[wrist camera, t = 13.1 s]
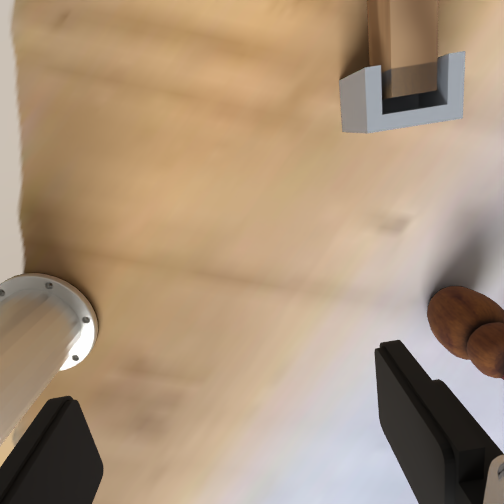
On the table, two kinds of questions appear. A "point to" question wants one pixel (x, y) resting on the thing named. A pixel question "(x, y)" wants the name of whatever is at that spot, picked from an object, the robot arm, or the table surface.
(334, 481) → the table surface
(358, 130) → the post
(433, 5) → the rail
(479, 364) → the wooden figurine
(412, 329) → the table surface
